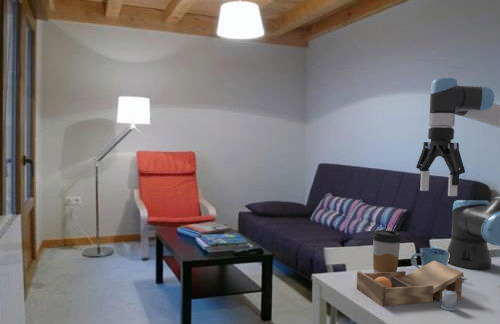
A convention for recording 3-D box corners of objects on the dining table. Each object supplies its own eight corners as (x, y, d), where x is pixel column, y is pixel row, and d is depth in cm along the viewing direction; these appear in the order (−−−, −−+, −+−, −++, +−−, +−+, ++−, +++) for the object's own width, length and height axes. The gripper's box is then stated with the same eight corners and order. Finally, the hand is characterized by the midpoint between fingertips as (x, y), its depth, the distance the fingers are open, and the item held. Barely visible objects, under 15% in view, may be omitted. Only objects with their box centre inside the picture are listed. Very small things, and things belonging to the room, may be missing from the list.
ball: (387, 288, 123) (371, 293, 122) (383, 271, 123) (368, 277, 122) (397, 294, 119) (381, 300, 118) (393, 277, 118) (377, 283, 117)
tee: (450, 304, 115) (450, 288, 115) (460, 310, 111) (461, 294, 111) (437, 305, 114) (437, 289, 114) (447, 311, 110) (448, 294, 110)
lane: (432, 284, 132) (434, 259, 132) (464, 299, 119) (465, 273, 119) (356, 288, 126) (357, 262, 125) (381, 305, 113) (382, 277, 113)
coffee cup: (395, 277, 137) (397, 230, 137) (401, 286, 129) (404, 236, 128) (368, 275, 138) (370, 229, 137) (373, 284, 130) (375, 234, 129)
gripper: (480, 127, 128) (476, 198, 129) (426, 128, 152) (423, 188, 153) (459, 125, 126) (454, 198, 127) (407, 127, 150) (404, 188, 152)
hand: (437, 193), depth 140 cm, fingers open, 13 cm apart
